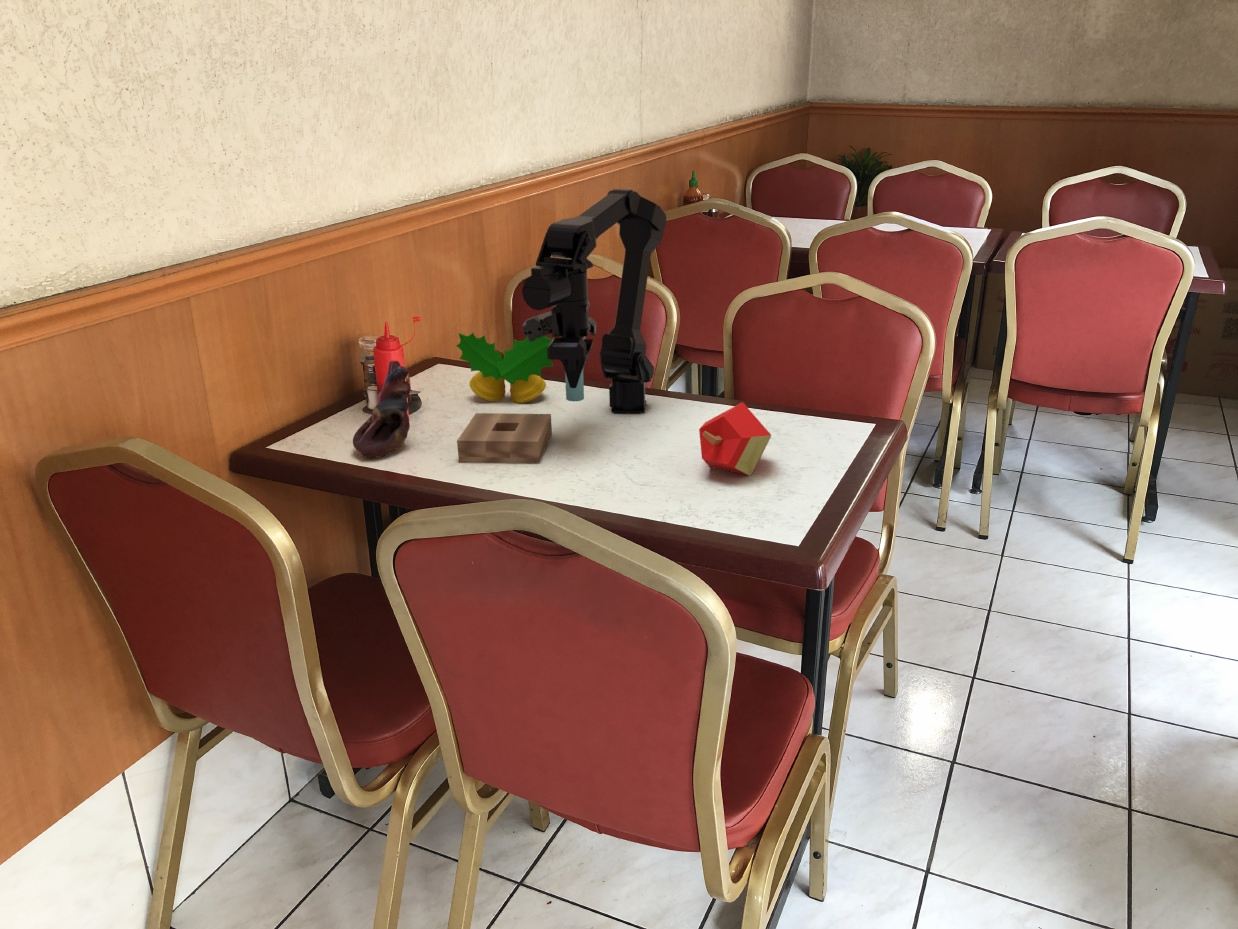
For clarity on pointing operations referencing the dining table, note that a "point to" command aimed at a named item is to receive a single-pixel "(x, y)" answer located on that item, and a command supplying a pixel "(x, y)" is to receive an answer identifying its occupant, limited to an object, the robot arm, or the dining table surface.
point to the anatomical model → (386, 417)
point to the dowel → (575, 390)
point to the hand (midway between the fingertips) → (574, 384)
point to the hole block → (505, 438)
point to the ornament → (506, 367)
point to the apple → (733, 440)
